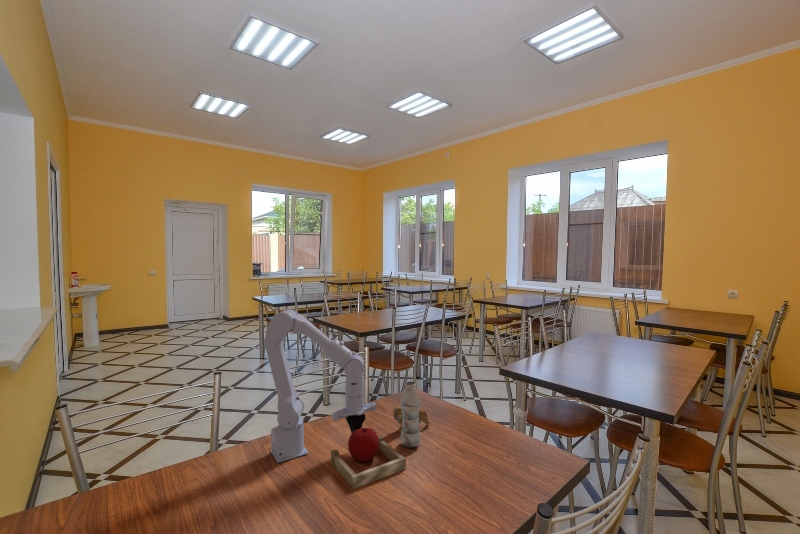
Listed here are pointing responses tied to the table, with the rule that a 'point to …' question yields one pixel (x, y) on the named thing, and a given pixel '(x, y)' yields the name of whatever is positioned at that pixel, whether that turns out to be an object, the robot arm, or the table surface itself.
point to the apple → (363, 444)
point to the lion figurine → (398, 416)
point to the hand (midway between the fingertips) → (355, 437)
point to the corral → (374, 473)
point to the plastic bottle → (410, 416)
